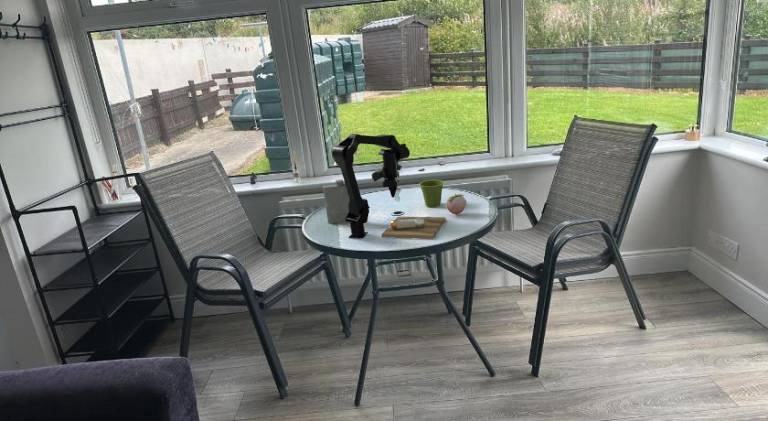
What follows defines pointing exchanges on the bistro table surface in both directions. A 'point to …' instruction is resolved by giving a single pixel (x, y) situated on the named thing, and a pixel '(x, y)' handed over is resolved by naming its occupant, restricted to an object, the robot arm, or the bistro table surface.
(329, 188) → the hip flask
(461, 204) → the decorative fruit
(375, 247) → the bistro table surface
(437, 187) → the plant pot
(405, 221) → the lever
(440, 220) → the board
